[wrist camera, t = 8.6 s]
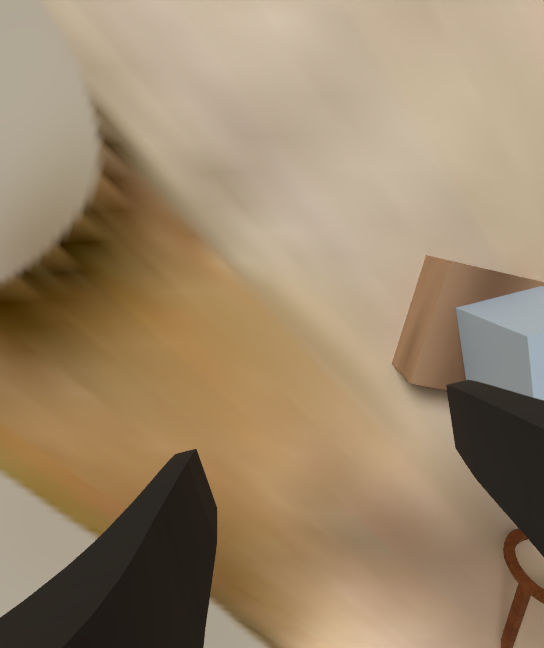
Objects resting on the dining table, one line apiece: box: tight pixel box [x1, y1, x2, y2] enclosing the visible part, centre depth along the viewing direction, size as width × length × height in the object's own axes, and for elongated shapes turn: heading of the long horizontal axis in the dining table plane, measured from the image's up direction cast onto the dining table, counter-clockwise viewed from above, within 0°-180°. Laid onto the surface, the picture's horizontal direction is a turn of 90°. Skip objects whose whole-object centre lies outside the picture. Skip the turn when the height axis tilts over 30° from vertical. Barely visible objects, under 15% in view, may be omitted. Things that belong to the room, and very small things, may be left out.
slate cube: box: [456, 286, 544, 400], centre depth 17 cm, size 4×4×5 cm
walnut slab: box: [392, 255, 544, 390], centre depth 20 cm, size 6×6×3 cm
